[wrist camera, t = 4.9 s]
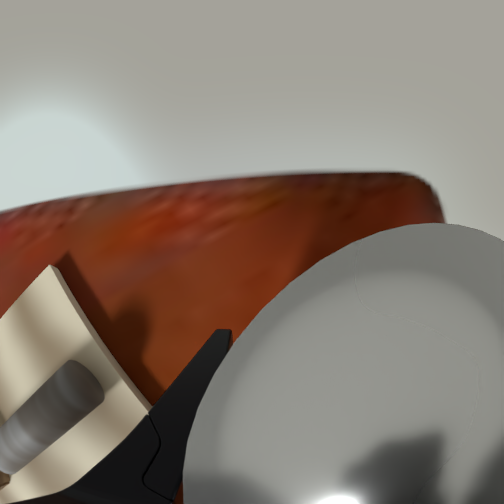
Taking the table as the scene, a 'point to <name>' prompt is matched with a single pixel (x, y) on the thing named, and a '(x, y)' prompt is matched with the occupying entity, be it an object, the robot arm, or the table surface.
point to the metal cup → (365, 381)
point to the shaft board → (37, 361)
